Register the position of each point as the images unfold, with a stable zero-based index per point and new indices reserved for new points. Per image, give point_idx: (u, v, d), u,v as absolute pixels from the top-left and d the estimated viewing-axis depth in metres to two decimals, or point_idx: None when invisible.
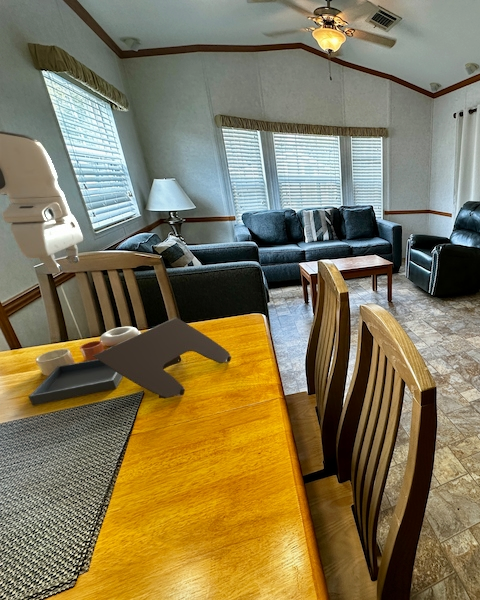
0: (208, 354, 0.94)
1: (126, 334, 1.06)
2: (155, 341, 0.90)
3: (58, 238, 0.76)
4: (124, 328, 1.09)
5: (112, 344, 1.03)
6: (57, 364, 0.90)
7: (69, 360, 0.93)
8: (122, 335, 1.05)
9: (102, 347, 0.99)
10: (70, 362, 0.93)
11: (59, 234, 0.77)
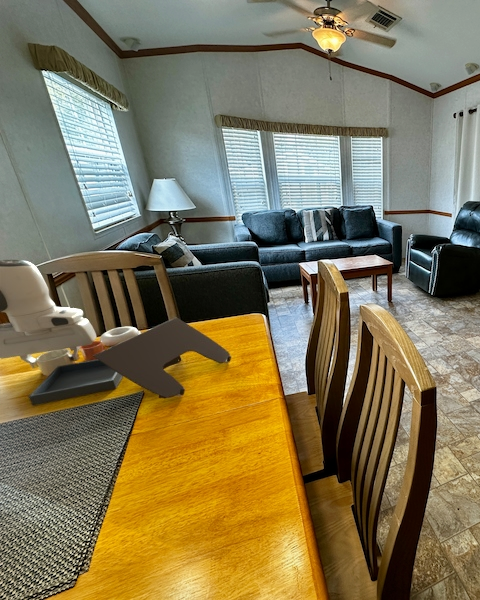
0: (208, 354, 0.94)
1: (126, 334, 1.06)
2: (155, 341, 0.90)
3: None
4: (124, 328, 1.09)
5: (112, 344, 1.03)
6: (57, 364, 0.90)
7: (69, 360, 0.93)
8: (122, 335, 1.05)
9: (102, 347, 0.99)
10: (70, 362, 0.93)
11: None
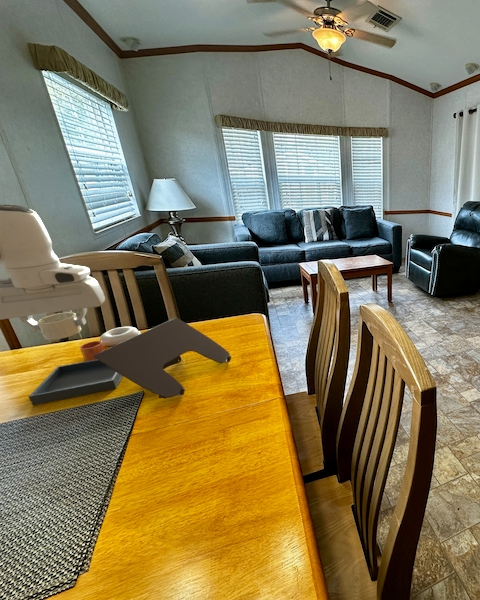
0: (208, 354, 0.94)
1: (126, 334, 1.06)
2: (155, 341, 0.90)
3: None
4: (124, 328, 1.09)
5: (112, 344, 1.03)
6: (61, 327, 0.80)
7: (75, 324, 0.83)
8: (122, 335, 1.05)
9: (102, 347, 0.99)
10: (76, 326, 0.83)
11: None
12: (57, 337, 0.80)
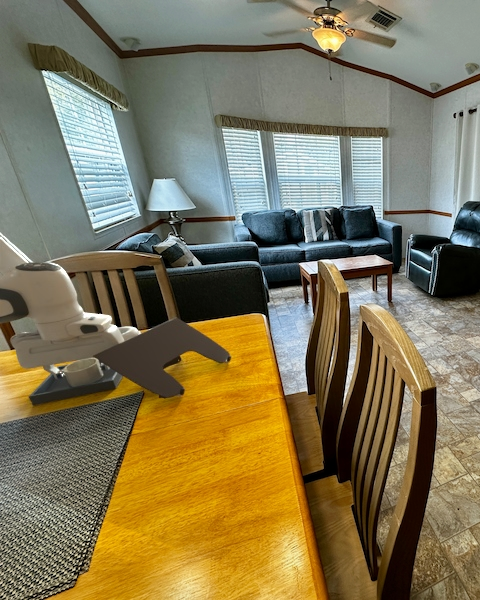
0: (208, 354, 0.94)
1: (126, 334, 1.06)
2: (155, 341, 0.90)
3: None
4: (124, 328, 1.09)
5: None
6: (85, 375, 0.84)
7: (98, 370, 0.87)
8: (122, 335, 1.05)
9: None
10: (99, 372, 0.87)
11: None
12: (81, 384, 0.84)
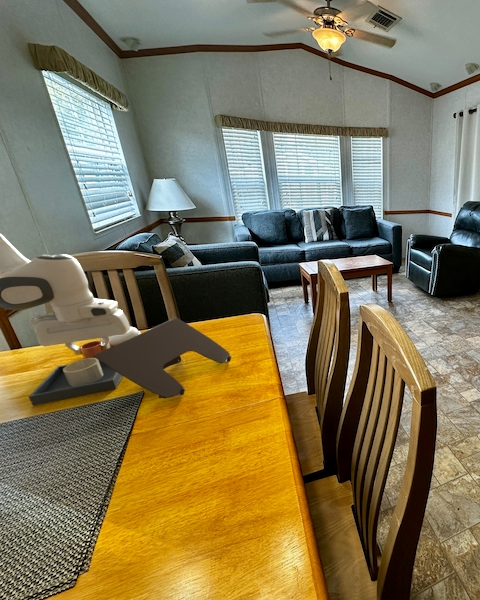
0: (208, 354, 0.94)
1: (126, 334, 1.06)
2: (155, 341, 0.90)
3: None
4: None
5: (112, 344, 1.03)
6: (85, 375, 0.84)
7: (98, 370, 0.87)
8: (122, 335, 1.05)
9: None
10: (99, 372, 0.87)
11: None
12: (81, 384, 0.84)
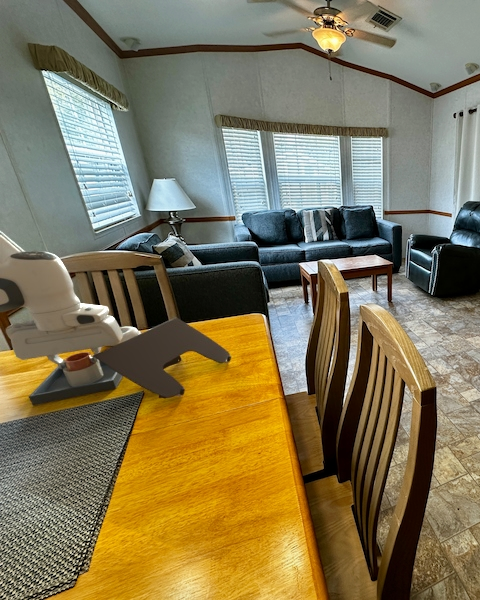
0: (208, 354, 0.94)
1: (126, 334, 1.06)
2: (155, 341, 0.90)
3: None
4: (124, 328, 1.09)
5: None
6: (85, 375, 0.84)
7: (98, 370, 0.87)
8: None
9: None
10: (99, 372, 0.87)
11: None
12: (81, 384, 0.84)
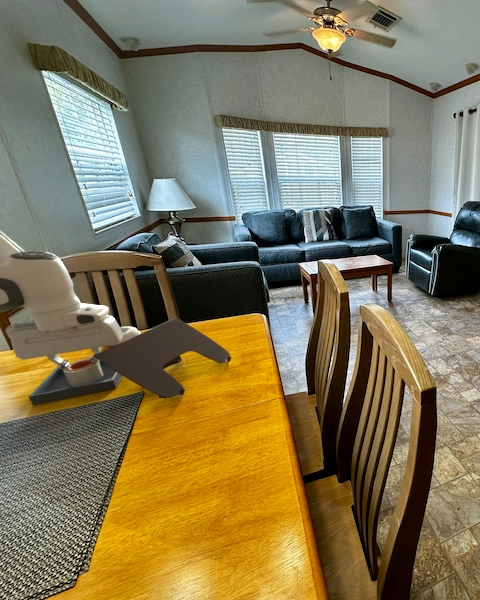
0: (208, 354, 0.94)
1: (126, 334, 1.06)
2: (155, 341, 0.90)
3: None
4: (124, 328, 1.09)
5: None
6: (85, 375, 0.84)
7: (98, 370, 0.87)
8: None
9: None
10: (99, 372, 0.87)
11: None
12: (81, 384, 0.84)
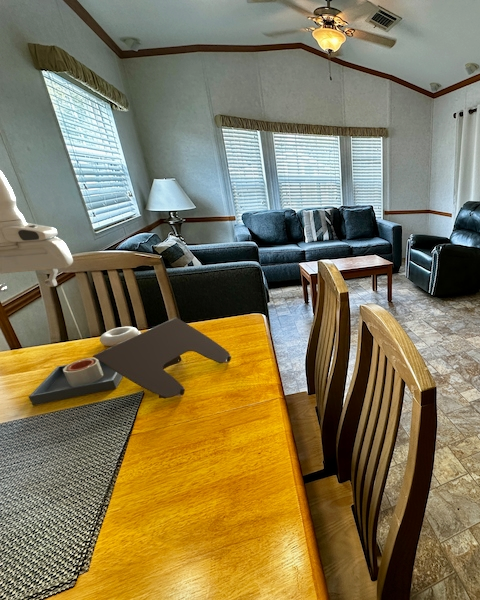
0: (208, 354, 0.94)
1: (126, 334, 1.06)
2: (155, 341, 0.90)
3: None
4: (124, 328, 1.09)
5: (112, 344, 1.03)
6: (85, 375, 0.84)
7: (98, 370, 0.87)
8: (122, 335, 1.05)
9: None
10: (99, 372, 0.87)
11: None
12: (81, 384, 0.84)
